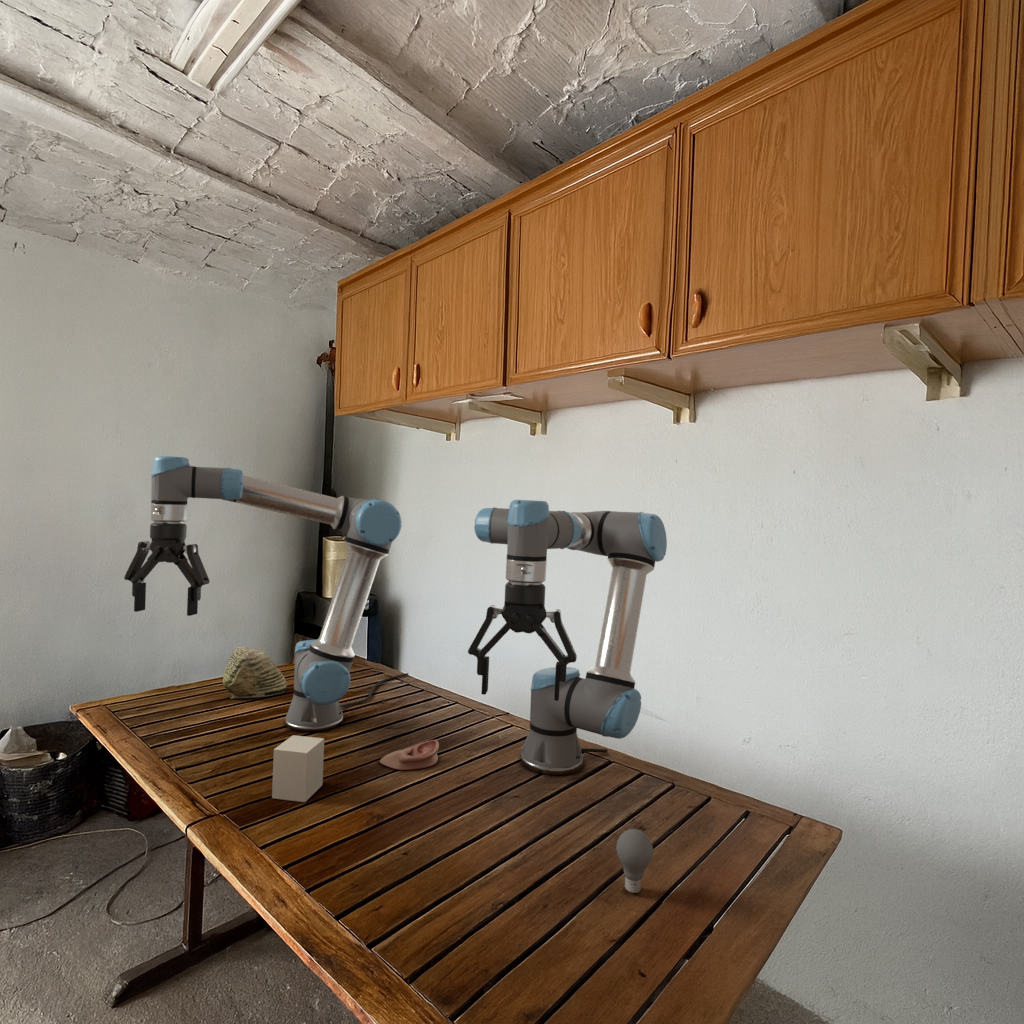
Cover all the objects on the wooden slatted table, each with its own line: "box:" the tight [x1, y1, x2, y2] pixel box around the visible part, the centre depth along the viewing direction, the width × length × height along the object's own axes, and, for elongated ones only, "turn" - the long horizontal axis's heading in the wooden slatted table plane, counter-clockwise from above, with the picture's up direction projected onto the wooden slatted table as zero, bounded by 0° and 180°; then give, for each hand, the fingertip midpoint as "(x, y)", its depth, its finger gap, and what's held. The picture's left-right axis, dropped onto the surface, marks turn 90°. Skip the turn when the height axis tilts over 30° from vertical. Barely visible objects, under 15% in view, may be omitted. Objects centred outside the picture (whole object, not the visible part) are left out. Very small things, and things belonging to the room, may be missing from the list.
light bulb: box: [615, 828, 654, 894], centre depth 106 cm, size 6×6×10 cm
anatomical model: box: [379, 739, 440, 771], centre depth 154 cm, size 13×4×12 cm
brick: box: [271, 734, 325, 803], centre depth 136 cm, size 8×7×10 cm
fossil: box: [222, 646, 288, 699], centre depth 198 cm, size 9×18×15 cm, turn 132°
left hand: (165, 612), depth 149 cm, fingers open, 13 cm apart
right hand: (520, 695), depth 119 cm, fingers open, 13 cm apart
